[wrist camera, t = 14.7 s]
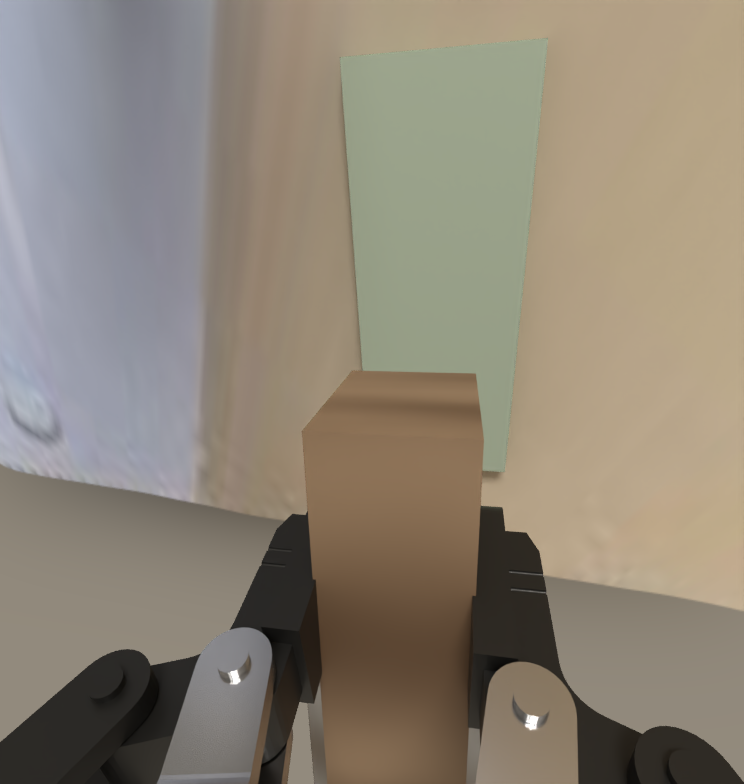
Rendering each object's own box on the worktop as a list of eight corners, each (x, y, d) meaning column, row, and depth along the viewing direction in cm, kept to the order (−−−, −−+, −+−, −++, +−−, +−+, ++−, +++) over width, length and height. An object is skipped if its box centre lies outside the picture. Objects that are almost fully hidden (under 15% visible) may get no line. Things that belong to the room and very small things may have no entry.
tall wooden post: (294, 369, 12) (219, 426, 8) (541, 375, 11) (585, 444, 7) (325, 785, 16) (285, 946, 13) (502, 817, 15) (517, 1002, 12)
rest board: (372, 453, 34) (369, 464, 33) (345, 60, 22) (339, 57, 21) (503, 460, 32) (504, 472, 31) (543, 42, 21) (547, 37, 20)
